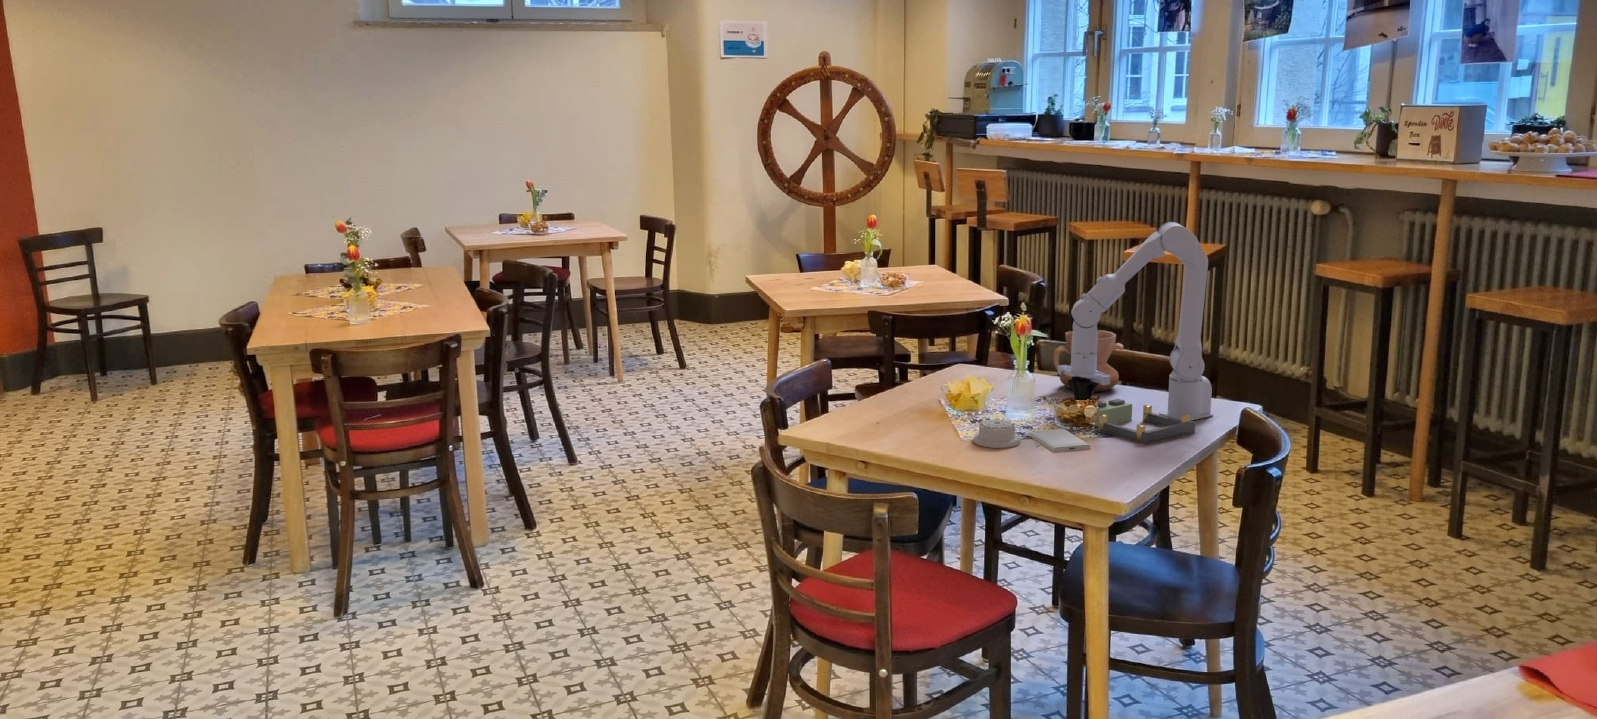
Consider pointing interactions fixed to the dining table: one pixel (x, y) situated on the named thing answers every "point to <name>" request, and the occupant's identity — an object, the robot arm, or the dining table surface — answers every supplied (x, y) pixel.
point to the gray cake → (996, 434)
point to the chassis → (1169, 430)
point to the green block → (1114, 411)
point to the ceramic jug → (1103, 352)
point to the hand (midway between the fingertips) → (1082, 409)
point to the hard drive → (1059, 440)
